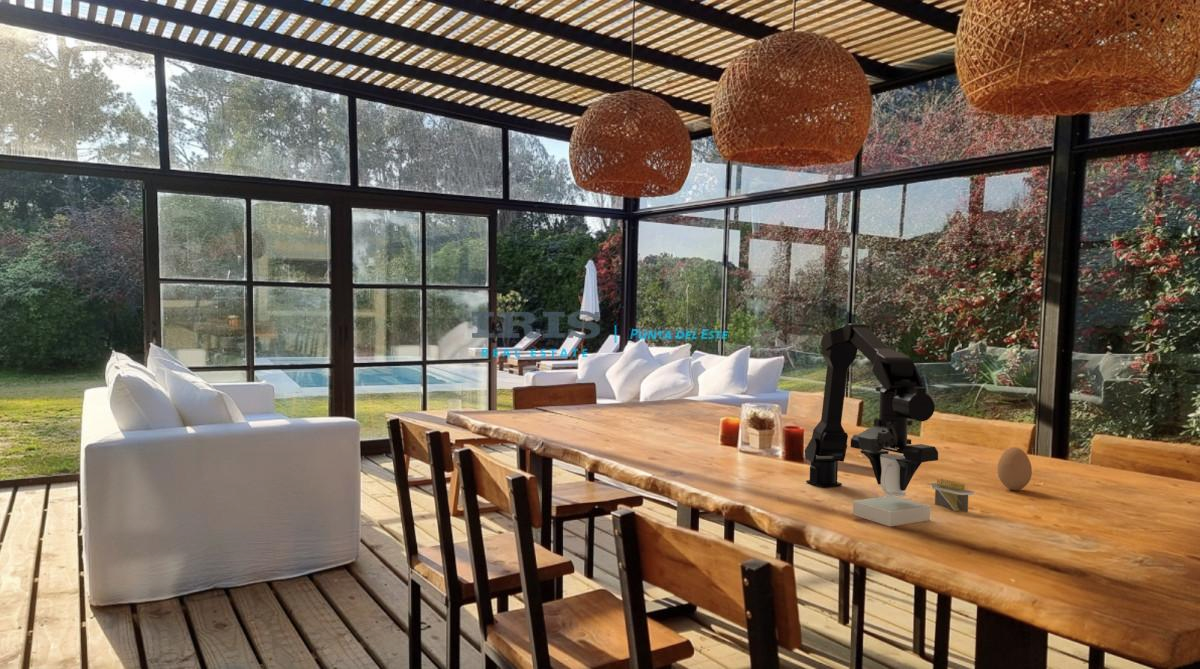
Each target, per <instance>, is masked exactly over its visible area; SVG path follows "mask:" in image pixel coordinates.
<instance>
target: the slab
mask: <svg viewBox="0 0 1200 669" xmlns="http://www.w3.org/2000/svg"><path fill="white" fill-rule="evenodd" d="M852 516H855V517H859V518H862V519H865V520H868V521H871V522H874V523H878V524H881V525H883V526H887V527H894V526H901V525H907V524H914V523H920V522H927V521H930V520H931V505H929V504H924V503H921V502H917V501H913V500H910V499H906V498H903V497H900V496H888V495H887V496H878V497H871V498H864V499H857V500H852Z"/></svg>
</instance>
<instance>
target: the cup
mask: <svg viewBox="0 0 1200 669" xmlns="http://www.w3.org/2000/svg"><path fill="white" fill-rule="evenodd" d="M902 458H903V454H901V453H888V454H881V455H880V460H881V468H882V473H881V485H880V487H881V490H882V491H883V493H884V494H885V495H887V496H896V497H905V496H906V492H905V491H906V490H907V488H906V489H905V490H904V491H902V490H900V465H899V464H898V462H897V461H896V459H902Z"/></svg>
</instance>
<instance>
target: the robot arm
mask: <svg viewBox="0 0 1200 669" xmlns="http://www.w3.org/2000/svg"><path fill="white" fill-rule="evenodd" d="M820 343H821V344H820V346H821V355H822V357H823V359H824V361H825V363H826V373H825V374H826V375H825V381H824V382H825V383H824V393H823V401H822V410H821V416H820V417H821V418H820V421H819V422H818V423H817V425H816V426H815V427H814V429H813V431H812V436H811V438H810V440H809V442H808V444H807V446H806V447H805V449H804V458H805V459H806V460H808V461H809V462H810V466H809V479H808V480H807V479H806V481H805V482H806V483H807V484H811V485H814V486H817V487H821V488H828V487H829V488H830V487H837V486H842V483H841V482H839V481H838V468H839V467H838V466H839V465H838V464H839V462H842V463H843V462H844V461H845V458H846V454H847V449H848V439H849V435H848V433H847V432H846V431H845V430H844V427H843V425H842V420H843V419H842V418H843V410H844V409H843V408H844V402H845V393H846V385H847V378H848V377H847V376H848V371H849V367H850V366H851V365H852V364H853V363H854V361H855V360H856V359H857V354H858V351H859V352H861V353H862V354H863V356H864V357H866V359H867V360H868V361H869V362H870V364H871V365H872V369H871V371H872V372H873V374H874V376H875V378H876V379H877V381H878V382H879V383H880V384H879V385H877V386H876V387H875V391H876V392H878V393H879V410H878V411H879V413H878V417H877V418H875V419H874V421H873V426H872V427H869V428H867V429H865V430H863V431H862V432H860V433H858V434H853V435H852V437H851V439H850V448H853V449H858V450H860V453H861V454H862V455H864V456H865V457H866V458H867V459H868V460H869V462H870V465H871V468H872V471H873V473H874V477H875V480H876V482H877V483H876V484H877V485H880V486H881V473H882V468H881V460H880V455H881V454H890V453H889V452H892V453H896V454H901V455H903V458H902V459H896V461H897V462H898V464H899V465H900V490H902V491H903V492H905V491H904V490H905V489H906V490H907V488H908V487H909V484H910V482H911V481H912V480H913V476H914V475H915V473H916V472H917V470H918V469H919V467H920V466H921V464H922V463H927V462H934V461H939V450H938V449H937V448H936V446H933V445H928V444H927V445H926V444H922V443H918V444H912V439H910V438H908V430H909V429H908V427H909V426H912V425H913V421H916V422H917V421H918V422H920V423H921V422H926V421H928V420H930V419H931V418H932V416H933V415H934V413H935V407H936V406H935V403H934V400H933V398H932V397H931V396H930V395H928V394H927V393H926V392H927V388H926V387H924V385H923V380H922V378H921V376H920V374H919V372H918V369H917V367H916V364H915V362H914V360H913V358H911V357H910V356H909V355H907V354H905V353H903V352H900V351H896V350H893V349H891V348H890V347H889V346H888V345H886V343H884V342H883V341H882V339H880V338H879V337H878V336H877V335H876V333H874V331H872V330H871V329H870V327H869V325H868V324H865V323H855V322H854V323H848V324H845V325H844V326H842V327H839V328H836V329H833V330H829V331H827V332H826V333H825V334H824V335H823V336H822V338H821V342H820Z"/></svg>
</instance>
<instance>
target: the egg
mask: <svg viewBox="0 0 1200 669" xmlns="http://www.w3.org/2000/svg"><path fill="white" fill-rule="evenodd" d="M996 469H997V476H998V478H999V481H1000V482H1001V483H1002V485H1003V486H1004V487H1005V488H1007V489H1009V490H1011V491H1020V490H1022V489H1024V488H1025V487H1027V485H1028V484H1029V483H1030V482H1031V480H1032V475H1033V474H1032V473H1033V472H1032V471H1033V469H1032V463H1031V460H1030V459H1029V456H1028V455H1027V453H1026V452H1025V451H1024V450H1023V449H1021V448H1019V447H1016V446H1013V447H1009V448H1008V449H1005V450H1004V451H1003V453H1002V454H1001V456H1000V458H999V459H998V463H997V468H996Z"/></svg>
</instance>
